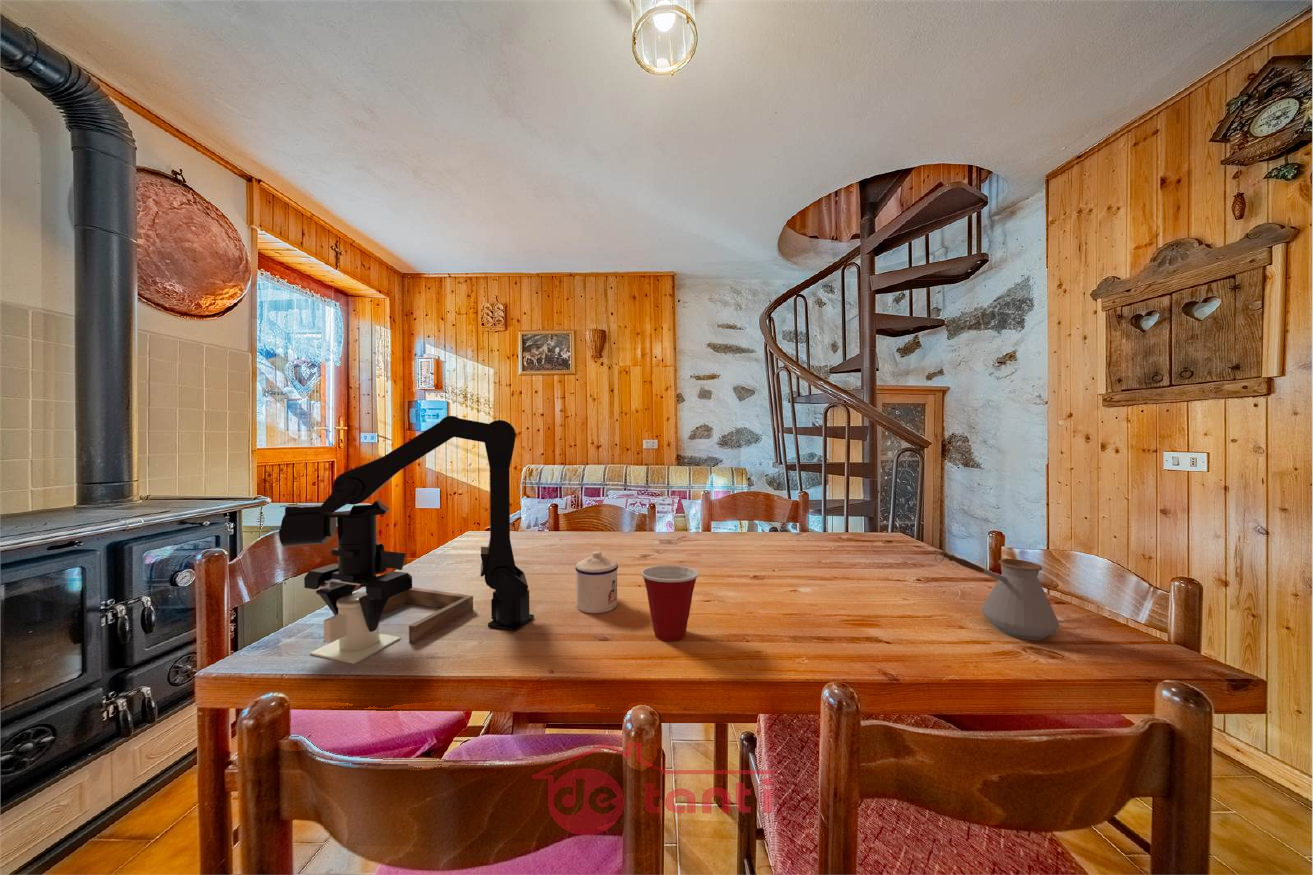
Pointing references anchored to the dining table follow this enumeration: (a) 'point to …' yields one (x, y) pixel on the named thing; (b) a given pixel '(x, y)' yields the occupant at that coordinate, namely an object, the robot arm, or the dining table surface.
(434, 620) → the cradle
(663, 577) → the plastic cup
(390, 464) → the robot arm
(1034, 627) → the coffee pot
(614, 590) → the teacup with lid
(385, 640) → the pad
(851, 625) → the dining table surface
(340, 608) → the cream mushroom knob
